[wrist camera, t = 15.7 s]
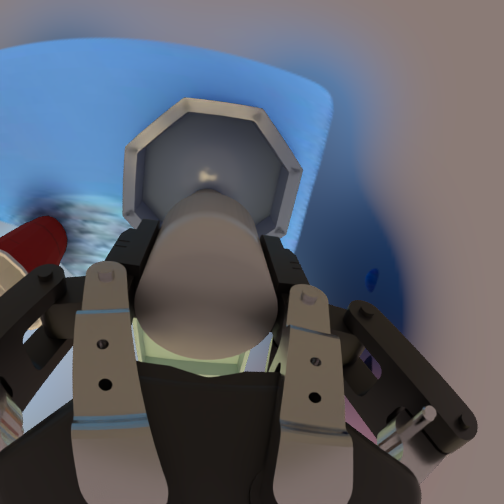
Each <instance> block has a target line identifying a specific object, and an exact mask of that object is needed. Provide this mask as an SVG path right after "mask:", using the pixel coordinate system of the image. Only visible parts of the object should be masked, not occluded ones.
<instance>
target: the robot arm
mask: <svg viewBox="0 0 504 504" xmlns="http://www.w3.org/2000/svg"><path fill="white" fill-rule="evenodd" d="M159 230H160V221H159V220H151V219H142V221H141V222H140V224H139V226H138V228H137V229H132V228H129V229H128V230H126V231H124V232H123V233H121V235H120V236H119V238H118V240H117V241H116V243H115V244H114V246H113V248H112V249H111V251H110V253H109V254H108V256H107V257H106V259H105V261H102V262H98V263H95V264H93V265H92V266H90V267H89V268H88V270H87V272H86V276H81V277H67V278H65V275H64V270H63V269H62V268H61V267H60V266H58V265H55V264H45V265H41V266H38V267H37V268H35V269H33V270H32V271H31V272H30V273H28V274H27V275H26V276H25V277H23V278H22V279H21V280H20V281H18V282H17V283H16V284H15V285H13V286H12V287H11V288H10V289H9V290H7V291H6V292H5V293H4V294H3V295H2V296H0V504H421V489H420V483H422V481H424V480H425V479H426V477H427V476H428V475H429V474H430V473H431V472H432V471H433V470H434V469H435V468H436V467H437V466H438V465H439V463H440V462H441V461H442V460H443V459H444V458H445V457H447V456H448V455H450V454H451V453H453V452H454V451H456V450H457V449H459V448H460V447H462V446H463V445H464V444H466V443H467V442H469V441H470V440H471V439H473V438H474V437H475V435H476V433H477V421H476V418H475V416H474V414H473V413H472V411H471V410H470V409H469V408H468V407H467V405H466V404H465V403H464V402H463V401H462V399H461V398H460V397H459V396H458V395H457V394H456V392H455V391H454V390H453V389H452V388H451V387H450V386H449V385H448V383H447V382H446V381H445V380H444V379H443V378H442V377H441V375H440V374H439V373H438V372H437V371H436V370H435V369H434V368H433V367H432V366H431V364H430V363H429V362H428V361H427V360H426V359H425V358H424V357H423V356H422V355H421V354H420V352H419V351H418V350H417V349H416V348H415V347H414V346H413V345H412V344H411V343H410V342H409V341H408V340H407V339H406V338H405V337H404V336H403V335H402V333H401V332H399V330H398V329H397V328H396V327H395V326H394V325H393V324H392V323H391V322H390V321H389V320H388V319H387V318H386V317H385V316H384V315H383V314H382V313H381V312H380V311H379V310H378V309H377V308H376V307H375V306H373V305H372V304H370V303H368V302H365V301H361V300H355V301H352V302H351V303H350V304H349V306H348V308H347V309H343V308H339V307H335V306H333V305H330V304H328V299H327V297H326V295H325V294H324V293H323V292H322V291H321V290H319V289H318V288H316V287H313V286H311V285H310V284H309V282H308V280H307V278H306V276H305V274H304V272H303V270H302V268H301V265H300V264H299V261H298V259H297V257H296V255H295V254H293V253H292V252H291V251H290V250H289V249H284V248H283V245H282V243H281V241H280V238H279V237H276V236H269V235H261V237H260V243H261V247H262V250H263V253H264V257H265V260H266V263H267V267H268V270H269V274H270V277H271V280H272V284H273V287H274V291H275V294H276V298H277V303H278V312H277V318H276V321H275V323H274V326H273V328H272V329H271V331H270V332H272V334H273V338H272V340H271V343H270V347H269V352H268V357H267V363H266V368H265V372H240V373H234V374H229V375H222V376H216V377H204V376H201V375H198V374H194V373H191V372H188V371H185V370H182V369H178V368H175V367H172V366H169V365H161V364H154V363H147V362H140V361H136V359H135V352H134V345H133V338H132V330H131V325H132V321H133V318H137V317H136V314H135V308H134V299H135V294H136V290H137V288H138V285H139V282H140V279H141V276H142V274H143V271H144V268H145V266H146V263H147V260H148V258H149V255H150V252H151V250H152V247H153V245H154V242H155V240H156V237H157V235H158V232H159ZM39 318H40V319H41V322H42V325H41V326H40V327H39V328H38V329H37V330H36V331H35V332H34V333H33V334H32V335H31V337H30V338H29V339H28V340H27V341H26V342H25V343H24V344H23V336H24V334H25V332H26V331H27V330H28V329H29V328H30V327H31V326H32V325H33V324H34V323H35V322H36V321H37V320H38V319H39ZM72 346H73V399H72V400H70V401H69V402H68V403H66V404H65V405H64V406H62V407H61V408H59V409H58V410H57V411H55V412H54V413H52V414H51V415H50V416H48V417H47V418H45V419H44V420H43V421H41V422H40V423H39V424H37V425H36V426H34V427H33V428H32V429H30V430H29V431H27V432H26V433H25V434H23V433H24V429H23V426H22V425H23V417H22V412H23V411H24V409H25V408H26V406H27V405H28V403H29V402H30V401H31V399H32V398H33V397H34V395H35V394H36V392H37V391H38V390H39V388H40V387H41V386H42V384H43V383H44V382H45V380H46V379H47V378H48V376H49V375H50V374H51V373H52V371H53V370H54V369H55V367H56V366H57V365H58V364H59V362H60V361H61V360H62V359H63V357H64V356H65V355H66V354H67V352H68V351H69V350H70V349H71V347H72ZM365 348H366V349H367V350H368V351H369V352H370V354H371V355H372V356H373V357H374V358H375V359H376V361H377V362H378V363H379V364H380V366H381V369H382V374H381V377H380V378H379V379H377V378H376V377H375V376H374V374H373V373H372V372H371V371H370V370H369V368H368V367H367V366H366V365H365V363H364V362H363V361H362V360H361V359H360V357H359V356H360V355H361V354H362V352H363V351H364V349H365ZM344 395H345V396H346V397H347V399H348V400H349V402H350V403H351V404H352V406H353V407H354V408H355V410H356V411H357V412H358V414H359V415H360V417H361V418H362V419H363V421H364V422H365V423H366V425H367V426H368V427H369V429H370V430H371V432H373V434H374V436H375V437H376V438H377V445H376V444H374V443H373V442H372V441H370V440H369V439H368V438H366V437H365V436H364V435H362V434H361V433H360V432H358V431H357V430H356V429H354V428H353V427H352V426H351V425H349V424H348V423H347V422H345V401H344Z"/></svg>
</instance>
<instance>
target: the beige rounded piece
mask: <svg viewBox="0 0 504 504" xmlns="http://www.w3.org/2000/svg"><path fill="white" fill-rule="evenodd" d="M134 308H135V314H136V317H137V320H138V322H139V324H140V326H141V328H142V329H143V331H144V332H145V333H146V334H147V335H148V337H149V338H150V339H152V340H153V341H154V342H155V343H156V344H158V345H159V346H161V347H162V348H164V349H166V350H168V351H170V352H172V353H174V354H177V355H180V356H183V357H187V358H192V359H199V360H217V359H224V358H229V357H233V356H236V355H239V354H241V353H244V352H246V351H248V350H250V349H252V348H253V347H255V346H256V345H258V344H259V343H260V342H261V341H262V340H263V339H264V338H265V337H266V336H267V335H268V334H269V332H270V331H271V329H272V328H273V326H274V323H275V321H276V318H277V312H278V303H277V298H276V294H275V291H274V287H273V284H272V280H271V277H270V274H269V270H268V267H267V263H266V260H265V257H264V253H263V250H262V247H261V243H260V240H259V237H258V233H257V230H256V227H255V223H254V221H253V219H252V217H251V215H250V214H249V212H248V211H247V210H246V209H245V207H243V206H242V205H241V204H240V203H239V202H237V201H236V200H234V199H232V198H230V197H228V196H225V195H222V194H218V193H199V194H194V195H191V196H188V197H186V198H184V199H182V200H181V201H179V202H178V203H176V204H175V205H174V206H173V207H172V208H171V209H170V210H169V212H168V213H167V215H166V216H165V218H164V221H163V223H162V225H161V228H160V230H159V232H158V235H157V237H156V240H155V242H154V245H153V247H152V250H151V252H150V255H149V258H148V260H147V263H146V266H145V268H144V271H143V274H142V276H141V279H140V282H139V285H138V288H137V290H136V294H135V299H134Z"/></svg>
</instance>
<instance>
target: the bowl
mask: <svg viewBox="0 0 504 504" xmlns="http://www.w3.org/2000/svg"><path fill="white" fill-rule="evenodd" d="M302 172H303V169H302V167H301V166H300V164H299V163H298V161H297V159H296V158H295V156H294V155H293V153H292V152H291V150H290V148H289V147H288V145H287V144H286V142H285V141H284V139H283V138H282V136H281V135H280V133H279V132H278V130H277V129H276V127H275V126H274V124H273V123H272V121H271V120H270V118H269V117H268V115H267V114H266V112H265V111H264V110H263V109H262V108H256V107H251V106H245V105H239V104H233V103H227V102H219V101H212V100H203V99H194V98H183V99H182V100H180V101H179V102H178V103H176V104H175V105H174V106H172V107H171V108H170V109H169V110H167V111H166V112H165V113H164V114H162V115H161V116H160V117H159V118H157V119H156V120H155V121H154V122H153V123H151V124H150V125H149V126H148V127H147V128H146V129H144V130H143V131H142V132H141V133H140V134H139V135H138V136H136V137H135V138H134V139H133V140H132V141H131V142H130V143H129V144H128V145H127V146H126V147H125V156H124V173H123V217H124V218H125V219H126V220H127V221H128V222H129V223H130V224H131V226H132V227H133V228H134V229H137V228H138V226H139V224H140V222H141V221H142V219H151V220H159V221H160V228H161V225H162V223H163V221H164V218H165V216H166V215H167V213H168V212H169V210H170V209H171V208H172V207H173V206H174V205H175V204H176V203H178V202H179V201H181V200H182V199H184V198H186V197H188V196H191V195H192V194H193V193H195V192H196V191H198V190H201V189H213V190H216V191H218V192H219V193H221V194H222V195H225V196H228V197H230V198H232V199H234V200H236V201H237V202H239V203H240V204H241V205H242V206H243V207H245V209H246V210H247V211H248V212H249V214H250V215H251V217H252V219H253V221H254V223H255V227H256V230H257V233H258V237H259V240H260V237H261V235H269V236H276V237H279V238H282V237H283V236H285V235H286V233H287V229H288V226H289V222H290V218H291V214H292V210H293V207H294V203H295V199H296V195H297V191H298V187H299V183H300V179H301V176H302Z"/></svg>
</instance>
